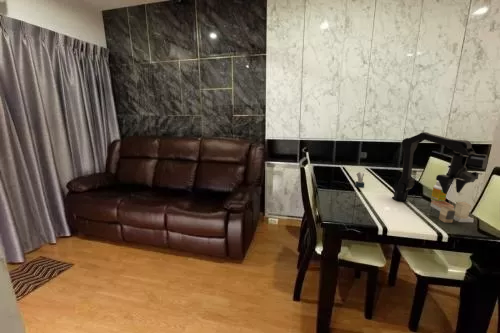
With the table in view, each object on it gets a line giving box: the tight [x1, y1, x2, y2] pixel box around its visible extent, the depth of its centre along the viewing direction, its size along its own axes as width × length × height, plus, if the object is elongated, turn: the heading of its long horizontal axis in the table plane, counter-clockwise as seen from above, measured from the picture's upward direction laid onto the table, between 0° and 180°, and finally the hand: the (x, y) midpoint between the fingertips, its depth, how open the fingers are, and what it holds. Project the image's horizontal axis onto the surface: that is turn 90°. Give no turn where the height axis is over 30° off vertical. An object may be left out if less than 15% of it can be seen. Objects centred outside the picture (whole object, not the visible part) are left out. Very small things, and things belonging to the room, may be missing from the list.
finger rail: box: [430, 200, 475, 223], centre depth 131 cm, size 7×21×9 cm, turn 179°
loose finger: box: [438, 207, 455, 224], centre depth 122 cm, size 4×5×7 cm
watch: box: [354, 171, 365, 189], centre depth 174 cm, size 6×8×11 cm
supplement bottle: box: [430, 180, 448, 202], centre depth 149 cm, size 7×7×13 cm
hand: (451, 193), depth 126 cm, fingers open, 9 cm apart
